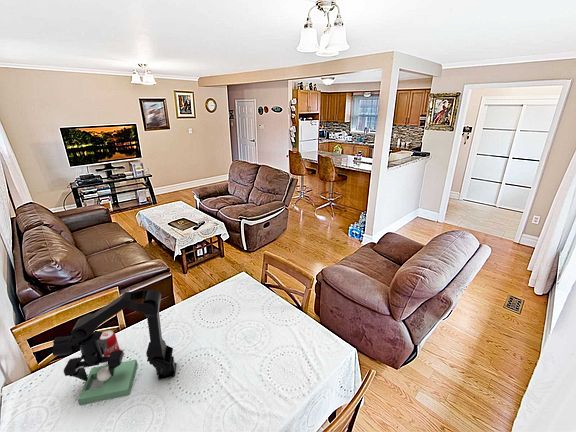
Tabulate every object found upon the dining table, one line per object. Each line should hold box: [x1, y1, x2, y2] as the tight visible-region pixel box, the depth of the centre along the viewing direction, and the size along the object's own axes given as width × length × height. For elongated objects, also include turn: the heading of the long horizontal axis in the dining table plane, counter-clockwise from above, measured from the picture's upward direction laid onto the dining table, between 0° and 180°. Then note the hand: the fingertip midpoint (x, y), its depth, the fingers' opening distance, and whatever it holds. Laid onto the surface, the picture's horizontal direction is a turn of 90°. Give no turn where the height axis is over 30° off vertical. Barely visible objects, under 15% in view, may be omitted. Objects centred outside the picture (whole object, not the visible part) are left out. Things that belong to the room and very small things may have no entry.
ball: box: [96, 367, 111, 383], centre depth 112 cm, size 5×5×5 cm
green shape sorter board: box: [77, 359, 139, 406], centre depth 114 cm, size 17×14×3 cm
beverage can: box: [99, 329, 121, 356], centre depth 124 cm, size 6×6×12 cm
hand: (100, 377), depth 112 cm, fingers open, 9 cm apart
